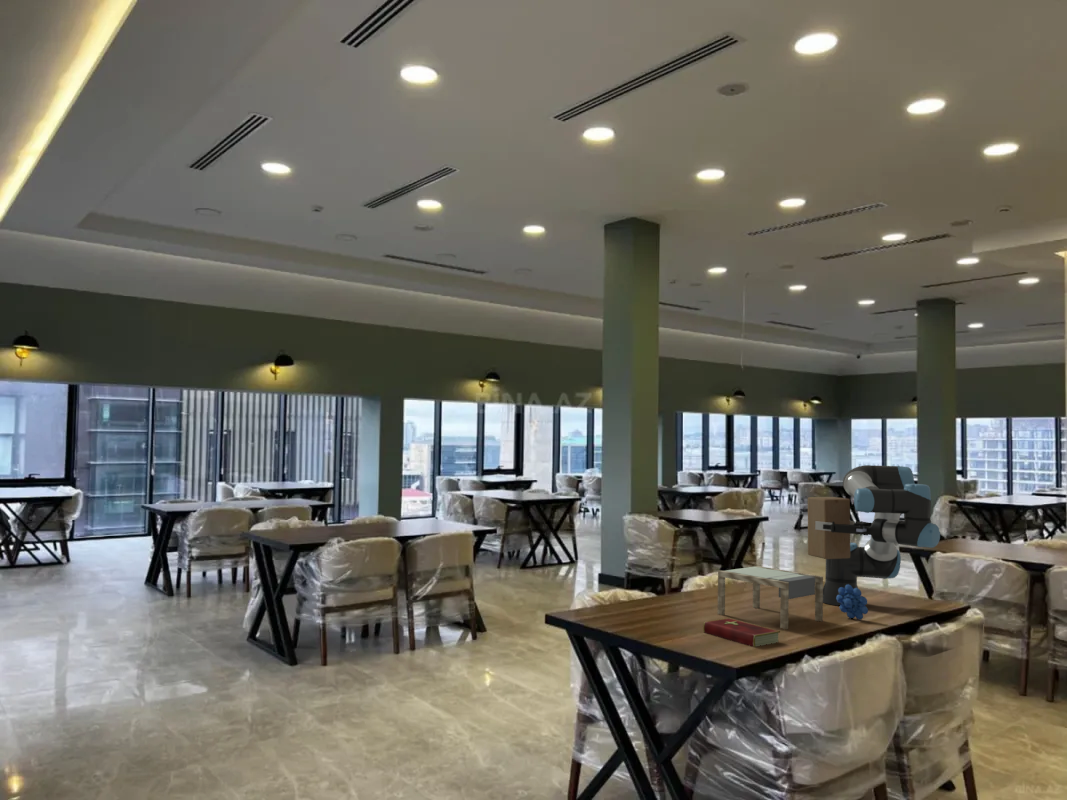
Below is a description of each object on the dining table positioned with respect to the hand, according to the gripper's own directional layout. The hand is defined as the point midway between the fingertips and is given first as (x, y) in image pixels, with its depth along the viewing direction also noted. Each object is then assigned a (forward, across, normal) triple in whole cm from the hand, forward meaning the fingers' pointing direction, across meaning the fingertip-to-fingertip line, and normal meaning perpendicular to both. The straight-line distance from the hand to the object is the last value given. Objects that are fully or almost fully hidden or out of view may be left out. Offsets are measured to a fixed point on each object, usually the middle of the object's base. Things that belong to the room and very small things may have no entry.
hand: (826, 524), depth 278 cm
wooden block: (-1, 0, -11) cm, 11 cm away
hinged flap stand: (+20, -4, -35) cm, 40 cm away
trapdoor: (+20, -4, -25) cm, 32 cm away
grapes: (+2, +19, -35) cm, 40 cm away
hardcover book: (+8, -37, -35) cm, 52 cm away
